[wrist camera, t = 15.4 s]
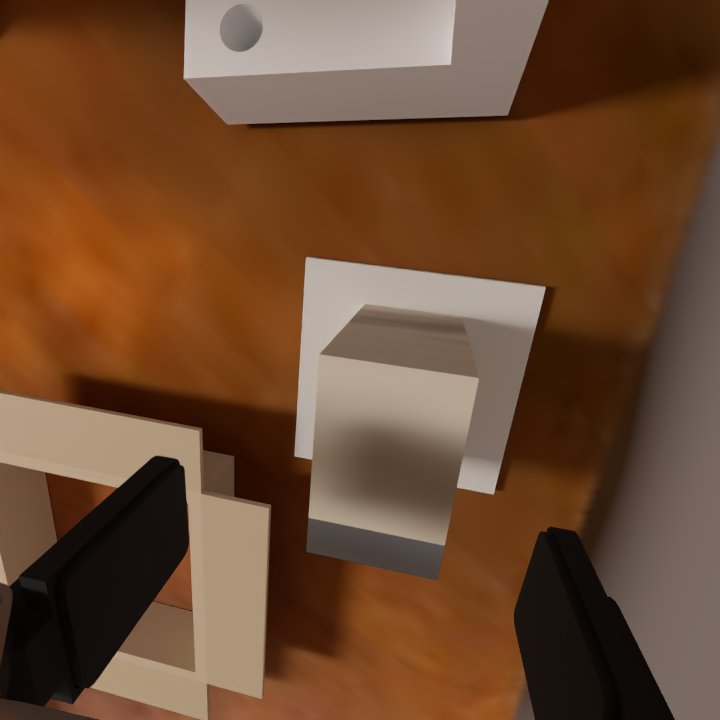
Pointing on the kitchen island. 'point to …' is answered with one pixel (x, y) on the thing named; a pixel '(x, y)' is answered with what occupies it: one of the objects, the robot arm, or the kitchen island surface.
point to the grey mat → (436, 295)
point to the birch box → (390, 438)
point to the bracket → (357, 57)
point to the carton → (207, 546)
